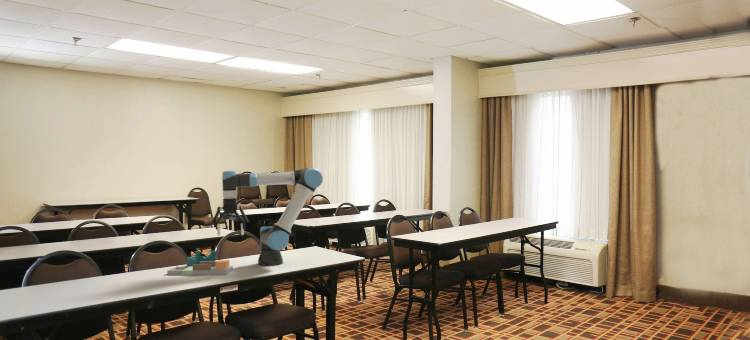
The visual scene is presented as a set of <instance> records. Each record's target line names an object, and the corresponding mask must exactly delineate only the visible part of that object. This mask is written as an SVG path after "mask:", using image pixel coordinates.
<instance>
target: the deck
mask: <svg viewBox="0 0 750 340" xmlns="http://www.w3.org/2000/svg"><path fill="white" fill-rule="evenodd" d="M217 261H218V260H215V261H200V265H192V266H187V265H186V266H184V265H183V266H175V267H172V268H170V269H168V270H167V271H166V273H167V276H193V275H194V276H205V275H206V276H212V275H213V276H218V275H219V276H221V275H226V276H227V275H228V274H229V273H231V272H232V271H234V266H233V265H229V268H227V269H216V267H215V262H217Z"/></svg>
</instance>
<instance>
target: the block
mask: <svg viewBox="0 0 750 340" xmlns="http://www.w3.org/2000/svg"><path fill="white" fill-rule="evenodd" d="M216 261H217V262H215V267H216V269H227V268H229V266H230V259H219V260H216Z"/></svg>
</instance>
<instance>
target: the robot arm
mask: <svg viewBox="0 0 750 340" xmlns="http://www.w3.org/2000/svg"><path fill="white" fill-rule="evenodd" d="M323 178H324V177H323V175H322V172H321V171H320V170H319V169H317V168H315V167H310V168H308V167H307V168H306V167H305V168H301V169H300V168H299V169H295V170H294V169H293V170H290V171H283V172H282V171H280V172H255V173H253V172H252V173H249V172H248V173H241V172H240V173H237V171H236V170H223V172H222V176H221V181H222V184H221V185H222V198H223V199H222V206H220V205H219V206H217V208H216V209H217V210H216V212H215V215H214V217H213V219H212V220H211V223H213V224H214V225H215V230H216V231H217V236H221V223H220V222H221V221H222V219H223V218H224V217H225V216H226V215H235V216H236V218H237V219H238V220H239V221H240V222H241V223H240V233H241V236H244V235H245V230H246V223H248V222H249V219H248V216H247V215H246V213H245V211H244V209H243V205H240V206H238V203H237V202H238V201H237V188H249V187H250V188H252V187H257V186H273V185H274V186H276V185H291V186H296V187H297V188H296V190H295V191H294V193H293V195H292V197H291V198H290V200H289V202H288V204H287V205H286V208H285V209H284V211H283V212H282V214H281V216H280V218H279V220H278V221H277V222H275V223H273V225H271V226H261V227H260V229H259V238H260V240H259V241H260V243H259V244H260V245H259V246H260V253H259V256H258V258H257V259H258V260H257V265H258V266H266V267H267V266H279V265H282V264H283V263H284V259H283V256H282V253H281V250H284V249H286V247H287V246H288V244H289V242H290V241H289V240H290V236H291V234H292V227H293V225H294V224H295V222H296V220H297V218H298V217H299V214H300V213H301V211H302V210H303V207H304V205H305V204H306V202H307V200H308V199H309V196H310V195H313V194H314V193H315V191H316V189H317V188H319V187H320V186H321V185H322V183H323V180H324V179H323ZM221 211H223V212H222V214H220V213H221ZM238 211H239V212H240V214H241V215H240V214H239V212H238ZM219 215H220V216H219Z"/></svg>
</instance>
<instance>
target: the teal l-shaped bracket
mask: <svg viewBox="0 0 750 340" xmlns="http://www.w3.org/2000/svg"><path fill="white" fill-rule="evenodd" d="M200 261H216V251H215V250H211V251H210V253H209V255H207V256H204V255H203V256H202V255H201V251H199V250H195V254H194V256H187V257H186V266H192V265H200Z"/></svg>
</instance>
